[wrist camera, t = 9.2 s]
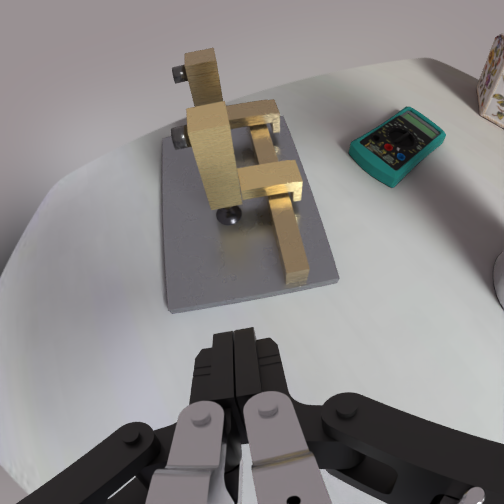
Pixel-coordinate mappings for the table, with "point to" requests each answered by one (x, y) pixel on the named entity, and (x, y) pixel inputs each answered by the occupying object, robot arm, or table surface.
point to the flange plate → (233, 234)
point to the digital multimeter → (396, 146)
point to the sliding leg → (230, 161)
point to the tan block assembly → (254, 118)
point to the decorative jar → (493, 84)
